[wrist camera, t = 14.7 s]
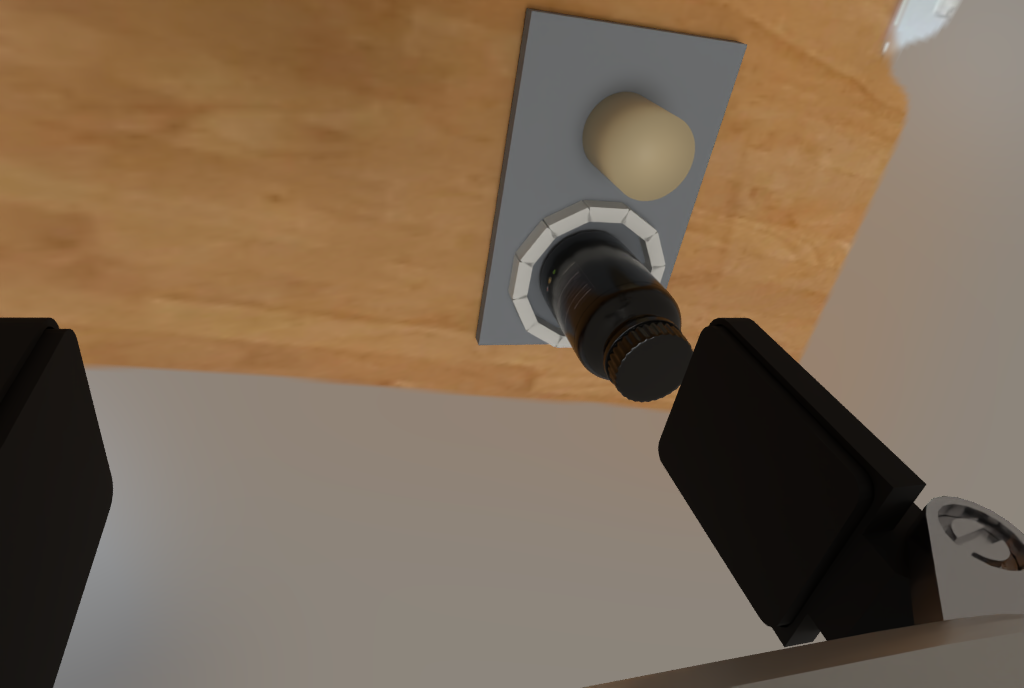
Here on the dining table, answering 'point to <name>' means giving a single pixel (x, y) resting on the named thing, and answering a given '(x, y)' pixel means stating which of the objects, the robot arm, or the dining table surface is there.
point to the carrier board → (556, 133)
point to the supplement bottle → (616, 315)
